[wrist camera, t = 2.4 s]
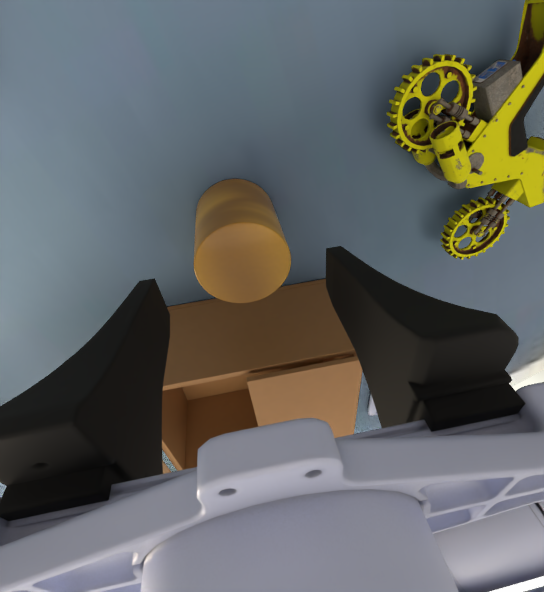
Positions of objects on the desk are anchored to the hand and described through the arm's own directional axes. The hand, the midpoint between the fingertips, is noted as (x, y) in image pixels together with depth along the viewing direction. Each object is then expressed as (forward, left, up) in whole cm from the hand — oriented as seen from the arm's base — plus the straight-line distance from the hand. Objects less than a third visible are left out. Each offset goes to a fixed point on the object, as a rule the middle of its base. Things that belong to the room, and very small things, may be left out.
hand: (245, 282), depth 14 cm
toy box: (+1, +11, -6) cm, 13 cm away
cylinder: (0, 0, -6) cm, 6 cm away
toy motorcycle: (-13, -2, -6) cm, 15 cm away
